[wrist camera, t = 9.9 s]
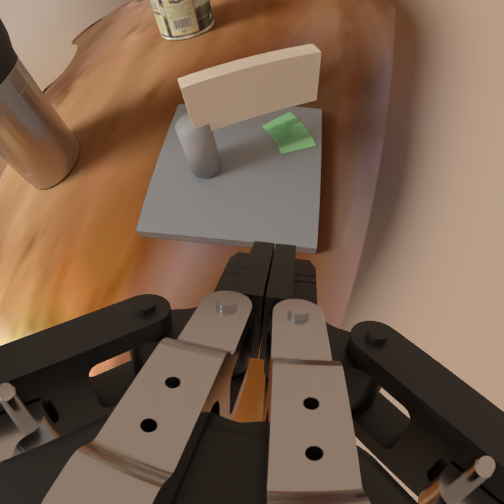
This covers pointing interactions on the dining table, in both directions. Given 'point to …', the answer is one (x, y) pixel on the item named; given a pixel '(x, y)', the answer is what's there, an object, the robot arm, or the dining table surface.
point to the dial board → (242, 184)
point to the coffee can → (182, 18)
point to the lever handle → (242, 97)
